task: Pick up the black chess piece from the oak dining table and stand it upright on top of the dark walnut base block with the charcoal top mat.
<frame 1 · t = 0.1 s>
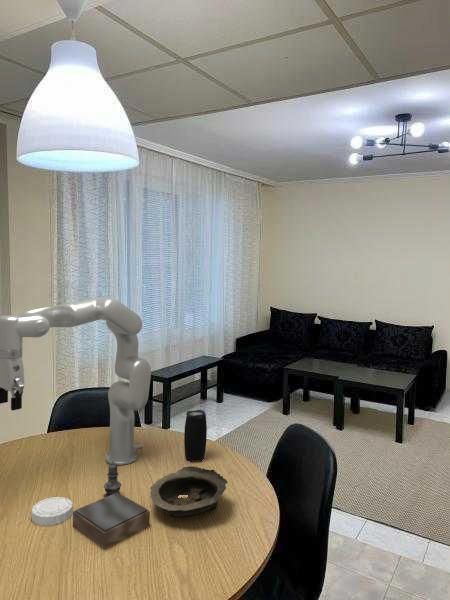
hand: (9, 406, 145), 31 cm above the table, fingers open, 9 cm apart
stone bowl: (187, 508, 145), on the table
black chess piece: (112, 496, 152), on the table
walnut base: (111, 525, 134), on the table
mooncake: (52, 516, 138), on the table
portable speaker: (194, 459, 183), on the table
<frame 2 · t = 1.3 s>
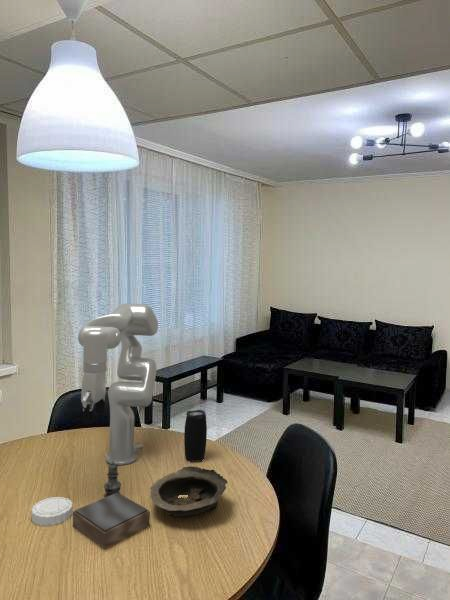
hand: (94, 417, 149), 27 cm above the table, fingers open, 9 cm apart
nothing on the table moved.
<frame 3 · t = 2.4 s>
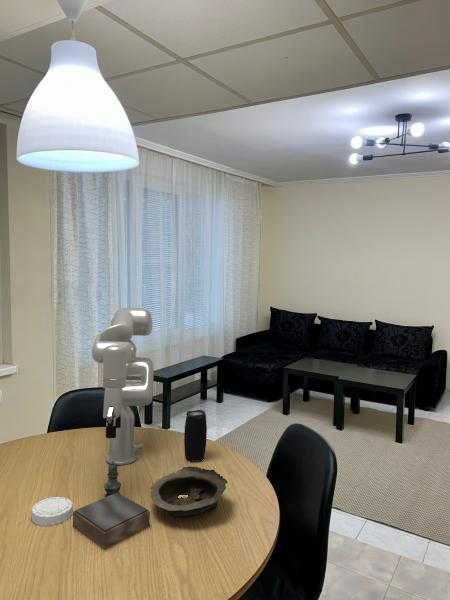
hand: (113, 432, 150), 22 cm above the table, fingers open, 9 cm apart
nothing on the table moved.
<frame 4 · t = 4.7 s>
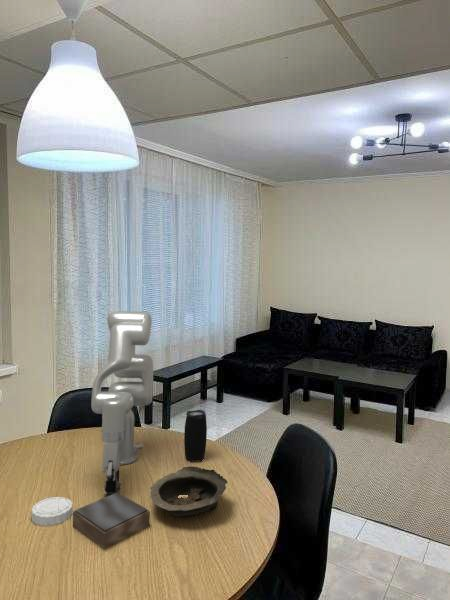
hand: (112, 486, 151), 3 cm above the table, fingers closed on black chess piece, 5 cm apart
black chess piece: (112, 496, 152), on the table, touching gripper
everything else where it was.
when the fingers open (10 cm above the table, at t = 10.5 s): black chess piece drops 2 cm, resting on walnut base.
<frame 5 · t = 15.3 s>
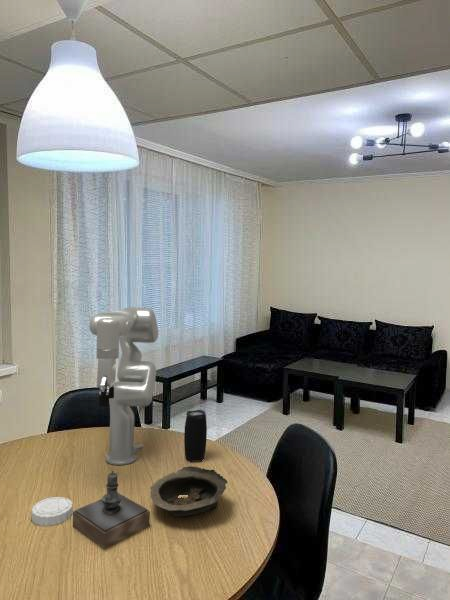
hand: (106, 402, 156), 30 cm above the table, fingers open, 9 cm apart
black chess piece: (111, 509, 134), point 5 cm above the table, touching walnut base
everything else where it was.
at the end: black chess piece inside the target area on the walnut base (0.3 cm from its centre), point 4.8 cm above the walnut base's base; black chess piece tilted 0°; the gripper is holding nothing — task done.
